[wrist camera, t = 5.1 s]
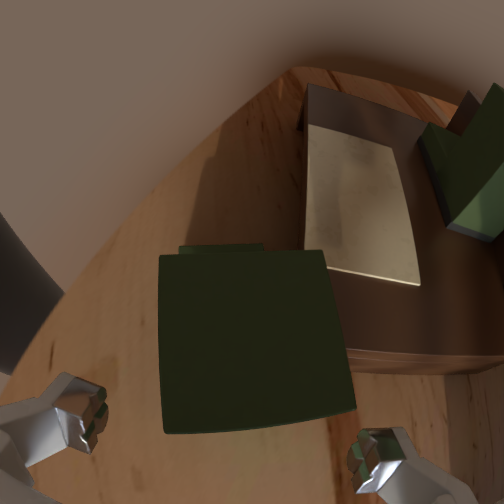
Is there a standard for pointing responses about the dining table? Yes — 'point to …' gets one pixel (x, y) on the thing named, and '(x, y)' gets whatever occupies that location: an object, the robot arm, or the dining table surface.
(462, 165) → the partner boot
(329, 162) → the shoe shelf
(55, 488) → the dining table surface
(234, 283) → the boot
